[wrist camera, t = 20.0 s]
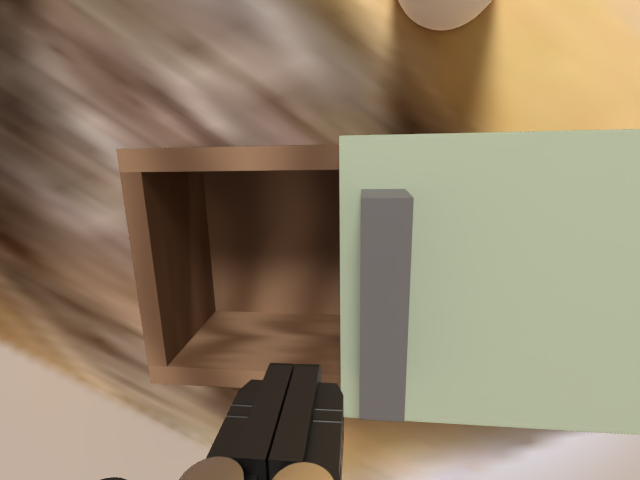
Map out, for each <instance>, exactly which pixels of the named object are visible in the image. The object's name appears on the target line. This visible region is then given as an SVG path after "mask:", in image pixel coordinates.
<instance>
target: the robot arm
mask: <svg viewBox="0 0 640 480" xmlns="http://www.w3.org/2000/svg"><path fill="white" fill-rule="evenodd" d="M343 442H344V395H343V393H342V392H341V390H340V388H339V386H338V384H337V383H321V365H318V364H296V365H295V364H292V363H270V364H269V366H268V368H267V371H266V373H265V376H264V378H263V380H254V379H251V380H250V381H249V382H248V383H246V384H245V385H244V386H243V387H242V388H241V389H240V390H239V391H238V393H237V395H236V397H235V399H234V401H233V403H232V406H231V408H230V410H229V412H228V414H227V417H226V418H225V420H224V422H223V424H222V426H221V428H220V430H219V433H218V435H217V437H216V439H215V441H214V443H213V445H212V447H211V449H210V451H209V453H208V455H207V457H206V459H204V460H202V461H200V462H198V463H196V464H194V465H193V466H191V467H190V468H189V469H188V470H187V471H186V472H185V473H184V474H183V475H182V477H181V478H180V479H179V480H342V462H343ZM102 480H126V479H123V478H117V477H116V478H114V477H113V478H105V479H102Z"/></svg>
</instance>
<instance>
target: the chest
mask: <svg viewBox="0 0 640 480" xmlns="http://www.w3.org/2000/svg"><path fill="white" fill-rule="evenodd" d="M116 150H117V157H118V164H119V171H120V177H121V184H122V191H123V198H124V205H125V212H126V218H127V225H128V232H129V239H130V246H131V252H132V259H133V266H134V273H135V280H136V287H137V293H138V300H139V307H140V314H141V321H142V327H143V334H144V341H145V348H146V355H147V362H148V368H149V375H150V382H151V383H158V384H177V385H196V386H215V387H234V388H242V387H243V386H244V385H245V384H246V383H248V382H249V381H250V380H251V379H254V380H263V378H264V376H265V373H266V371H267V368H268V366H269V364H270V363H292V364H295V365H296V364H318V365H321V383H337V384H338V386H339V388H340V390H341V350H340V190H339V145H292V146H240V147H189V148H144V149H116Z"/></svg>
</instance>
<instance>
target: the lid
mask: <svg viewBox="0 0 640 480" xmlns="http://www.w3.org/2000/svg"><path fill="white" fill-rule="evenodd" d="M339 190H340V350H341V392H342V393H343V395H344V417H348V418H359V419H362V420H379V421H396V422H404V421H415V422H431V423H448V424H465V425H481V426H498V427H515V428H532V429H548V430H565V431H582V432H599V433H615V434H616V433H617V434H632V435H640V129H623V130H577V131H532V132H486V133H440V134H395V135H349V136H339Z"/></svg>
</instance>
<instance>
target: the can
mask: <svg viewBox="0 0 640 480" xmlns="http://www.w3.org/2000/svg"><path fill="white" fill-rule="evenodd" d="M398 1H399V3H400V6H401V7H402V9H403V11H404V12H405V13H406V15H407V16H408V17H409V18H410V19H411V20H413V21H414V22H415V23H417V24H418V25H420V26H422V27H425V28H428V29H431V30H450V29H454V28H458V27H460V26H462V25H465V24H466V23H468V22H470V21H471V20H473V19H474V18H475V17H476V16H478V15H479V14H480V13H481V12H482V11H483V10H484V9H485V8H486V7H487V6H488V5H489V4H490V2H491V1H492V0H398Z"/></svg>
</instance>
